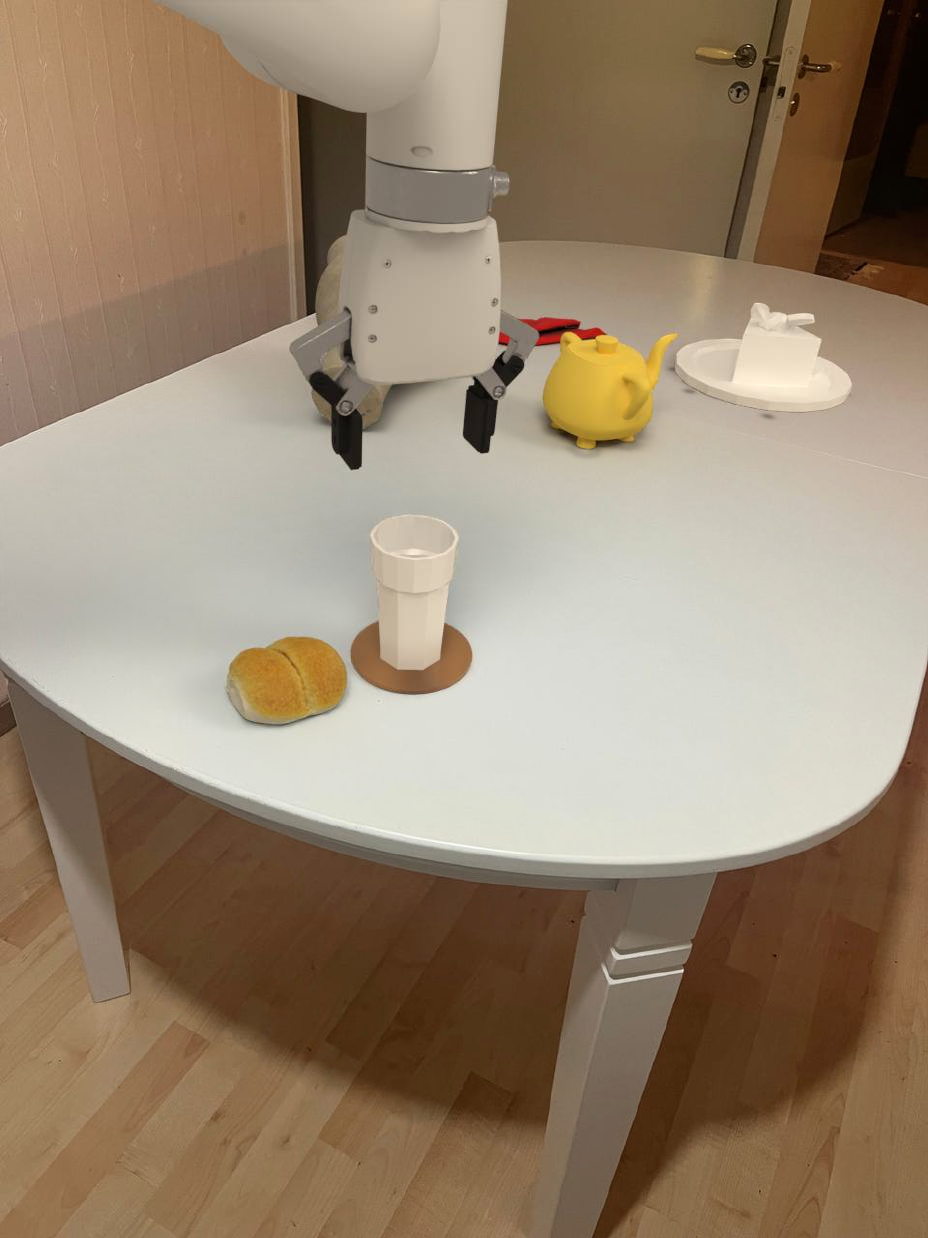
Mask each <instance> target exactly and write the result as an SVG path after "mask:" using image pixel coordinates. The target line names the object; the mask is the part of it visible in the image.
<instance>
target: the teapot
mask: <svg viewBox="0 0 928 1238" xmlns="http://www.w3.org/2000/svg"><path fill="white" fill-rule="evenodd" d="M678 335H679V334H678V333H670V334H666V335H664V336H661V337H660V338H659V339H658V340H657V341H656V342H655V343H654V344H653V346H652V348H651V350H650V352H649V354H648V357H647V359H646V361H645V359H644V357H643V356H642V354H641V353H640V352H639V351H637V350H636V349H634V348H633V347H631V346H629V345H627V344H624V343H622V342H619V341H620V340H619V339H618V338H617V337H615V336H613V335H610V334H607V335H600V336H597V337H595V339H594V338H591V339H580V338H579V337H578V336H577V335H576V334H574V333H572V332H565V333H563V335H562V336H561V341H560V342H559V344H560V345H559V347H560V348H559V349H560V350H559V351H560V354H559V356H558V357H557V359H556V360H555V362H554V363H553V365H552V367H551V369H550V370H549V373H548V375H547V378H546V381H545V383H544V387H543V393H542V397H541V398H542V399H541V400H542V404H543V406H544V409H545V411H546V413H547V415H548V416H549V418H550V419H551V421H552V422H551V423H550V425H551V427H552V428H553V429H557V430H563V431H565V432H567V433H569V434H571V435H573V436H575V437H577V440H576V442H575V443H576V446H578V447H579V448H581V449H585V450H586V449H587V450H588V449H589V450H590V449H594V448H595V447H597V441H609V440H618V441H620V442H624V443H628V442H633V441H635V437H634V435H637V434H639V433H640V432H641V431H642V430H643V429H644V428H645V427H646V426H647V425H648V424H649V423H650V422H651V419H652V416H653V411H654V393H653V391H654V390H655V388H656V386H657V384H658V382H659V379H660V375H661V370H662V364H663V359H664V355H665V352H666V351H667V348H668V347H669V345H670V344H672V342H674V340H675V339H676V338H677V337H678Z"/></svg>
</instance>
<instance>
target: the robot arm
mask: <svg viewBox="0 0 928 1238" xmlns="http://www.w3.org/2000/svg"><path fill="white" fill-rule="evenodd" d="M151 1H152V2H153V3H156V4H158V5H161V6H162V7H165V8H167V9H169V10H170V11H173V12H175V13H177V14H178V15H181V16H183V17H184V18H186V19H189V20H191V21H193V22H194V23H197V24H198V25H200V26H202V27H204V28H206V29H208V30H210V31H212V32H214V33H215V34H217V35H219V37H220V39H221V41H222V43H223V45H224V47H226V49H227V51H228V52H229V54H230V55H231V56H232V57H233V58H234V59H235V61H236V62H238V64H239V65H240V66H241V67H242V68H244V69H245V70H246V71H247V72H248V73H249V74H251V75H253V77H255V78H257V79H259V80H261V81H262V82H264V83H266V84H269V85H271V86H273V87H275V88H279V89H281V90H284V91H287V92H289V93H290V92H291V93H293V94H296V95H299V96H302V97H303V96H304V97H307V98H310V99H313V100H316V101H320V102H322V103H325V104H327V105H331V106H333V107H336V108H339V109H341V110H343V111H348V112H353V113H361V114H363V113H364V114H366V129H365V130H366V132H365V133H366V134H365V135H366V136H365V137H366V138H365V140H366V141H365V191H364V192H365V198H364V199H365V200H364V209H355V210H353V211H351V214H350V218H349V222H348V226H347V231H346V235H347V236H346V242H345V248H344V255H343V262H342V270H341V279H340V289H339V300H338V314H337V315H336V316H334V317H333V318H331V319H329V320H328V321H326V322H324V323H323V324H321V325H319V326H318V325H317V326H316V327H314V328H312V329H311V330H309V331H307V332H306V333H304V334H303V335H301V336H299V337H297V338H295V339H294V340H293V341H292V342H291V343H290V344H289V347H288V350H289V353H290V354H291V356H292V358H293V360H294V361H295V363H296V365H297V366H298V368H299V370H300V372H301V373H302V375H303V378H304V379H305V381H306V382H307V383H308V385H309V386H310V387H311V389H312V388H313V389H314V391H316V392H317V393H318V394H319V395H320V396H321V397H322V398H324V399H325V400H326V401H327V402H328V403H329V404H330V405H331V422H330V424H331V425H330V426H331V429H330V433H331V434H330V435H331V439H330V440H331V446H332V450H333V452H334V453H335V454H336V455H339V456H340V458H341V459H342V460H343V462H344V463H345V464H346V466H347V467H348V469H350V471H357V470H360V468H362V466H363V429H362V427H363V419H362V415H361V414H360V413H359V412H358V411H357V409H356V407H357V406H358V405H359V404H360V402H361V401H362V400H363V398H364V397H365V396H366V395H367V393H368V392H369V391H370V390H371V388H372V387H373V386H374V385H392V384H393V385H402V384H417V383H428V382H436V381H446V380H457V379H465V378H471V379H472V380H473V384H471V385H468V387H467V389H466V393H465V403H464V415H463V424H462V425H463V427H462V437H463V439H464V440H465V441H466V442H467V443H468V444H469V445H470V446H471V447H472V448H473V449H474V450H475V451H476V452H477V453H479V454H481V455H482V454H483V455H484V454H488V453H489V452H490V449H491V440H492V437H494V435H495V431H496V423H497V414H498V405H499V404H498V403H499V401H500V400H502V399H503V398H505V396H506V395H507V388H508V387H509V385H511V384H512V383H513V381H514V380H516V378H517V377H518V376H519V375H520V374H521V373H522V372H523V371H524V368H525V361H526V359H528V358H529V356H530V355H531V353H532V351H533V349H534V348H535V346H536V345H535V344H536V342H537V341H538V338H539V333H538V331H537V330H535V329H534V328H532V327H531V326H529V325H528V324H526V323H524V322H522V321H521V320H519V319H520V318H518V317H515V316H513V315H512V314H510V313H508V312H507V311H504V310H502V307H501V306H502V271H501V270H502V269H501V268H502V267H501V252H500V244H499V243H500V241H499V234H498V233H499V232H498V226H497V221H496V220H495V218H494V217H492V216H490V212H492V210H493V209H492V208H493V199H495V198H497V197H500V196H503V197H505V196H507V195H508V194H509V191H510V188H511V186H510V185H511V181H510V176H509V174H508V172H506V171H505V172H504V171H497V170H496V165H495V164H494V157H495V156H494V155H495V143H496V131H497V119H498V110H499V109H498V108H499V97H500V88H501V87H500V85H501V75H502V64H503V55H504V45H505V44H504V42H505V32H506V22H507V10H508V0H151ZM517 318H518V319H517ZM499 331H500V332H502V333H504V334H506V335H508V336H509V337H510V341H509V343H508V344H506V345H507V346H506V349H505V350H503V351H502V352H500V354H499V355H498V348H499V343H500V342H499ZM336 346H337V352H338V355H339V357H340V359H341V360H343V361H344V362H345V363H344V364H343V366H342V367H341V368H340V370H339V371H338V372H337V373H336V375H335V376H334V377H333V379H332V378H330V377H329V376H328V375H327V374H326V373H325V372H324V370H323V368H322V367H323V366H322V364H321V358H322V356H323V355H324V354H327V352H328V351H329V350H331V349H333V348H334V347H336ZM497 355H498V356H497ZM393 385H392V386H393Z"/></svg>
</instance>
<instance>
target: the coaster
mask: <svg viewBox="0 0 928 1238" xmlns="http://www.w3.org/2000/svg"><path fill="white" fill-rule="evenodd" d="M350 660H351V664H352V667H353V668H354V670H355V671H356V673H357V674H358V675H359V676H360V677H361V678H362V679H363V680H365V681H366V682H368V683H369V684H371V685H373V686H374V687H377V688H379V689H382V690H384V691H388V692H392V693H397V694H403V695H404V694H405V695H422V694H423V695H425V694H430V693H435V692H438V691H442V690H444V689H447V688H450V687H451V686H453V685H455V684H457V683H458V682H459V681H460V680H462V679H463V678H464V677H465V676H466V675H467V673H468V672H469V670H470V667H471V665H472V661H473V651H472V647H471V644H470V642H469V640H468V639H467V637H466V636H465V635H464V633H462V632H461V631H460V630H458V629H457V628H456V627H454V626H452V625H450V624H448V623H446V622H444V628H443V636H442V644H441V653H440V660H438V661H437V662H435V663H434V664H432V665H430V666H429V667H427V668H425V669H424V670H397V669H396V668H394V667H393V666H391V665H390V664H388V663H387V662H385V661H384V660H382V659H381V658H380V633H379V620H378V621H376V622H373V623H371V624H369V625H368V626H365V627H364V628H363V629H362V630H361V631H359V633H357V635H356V636H355V638H354V639H353V641H352V643H351V647H350Z"/></svg>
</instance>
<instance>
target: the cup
mask: <svg viewBox="0 0 928 1238" xmlns="http://www.w3.org/2000/svg"><path fill="white" fill-rule="evenodd" d="M459 540H460V537H459V535H458V533H457V531H456V529H455V528H454V527H453V526H451V525H450V524H449V523H448V522H447V521H445V520H442V519H440V518H436V517H433V516H429V515H423V514H417V513H416V514H415V513H413V514H411V513H410V514H401V515H400V514H399V515H395V516H392V517H388V518H383V520H381V521H380V522H378V523H377V524H376V525H374V526H373V528H372V530H371V532H370V534H369V547H370V564H371V565H370V566H371V567H370V568H371V570H372V574H373V576H374V578H375V580H376V591H377V592H376V593H377V594H376V595H377V611H378V621H379V633H380V658H381V659H382V660H384V661H385V662H387V663H388V664H390V665H391V666H393V667H394V668H396V669H397V670H424V669H425V668H427V667H429V666H430V665H432V664H434V663H435V662H437V661H438V660H440V653H441V644H442V636H443V628H444V623H445V621H446V620H445V619H446V612H447V603H448V597H449V590H450V583H451V581H452V579H453V576H454V574H455V571H456V566H457V564H456V563H457V558H458V557H457V556H458V549H459Z"/></svg>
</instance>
